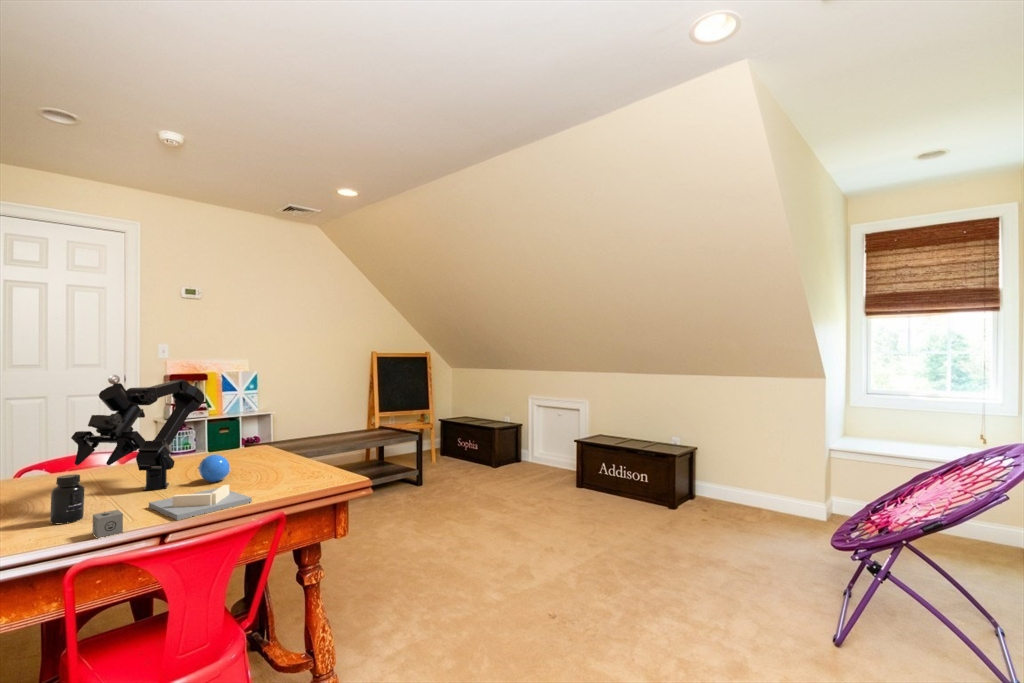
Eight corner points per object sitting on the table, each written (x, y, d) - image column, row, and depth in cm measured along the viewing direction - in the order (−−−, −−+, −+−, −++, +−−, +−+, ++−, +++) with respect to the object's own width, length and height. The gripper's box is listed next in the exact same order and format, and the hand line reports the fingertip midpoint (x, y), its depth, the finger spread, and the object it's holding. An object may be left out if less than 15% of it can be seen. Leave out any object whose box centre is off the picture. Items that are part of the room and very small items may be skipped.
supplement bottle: (75, 523, 135) (76, 478, 135) (44, 526, 133) (45, 480, 133) (89, 515, 141) (89, 472, 142) (59, 517, 139) (60, 474, 140)
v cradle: (148, 507, 148) (148, 492, 148) (220, 492, 164) (220, 478, 165) (177, 520, 137) (177, 503, 137) (251, 502, 153) (251, 487, 153)
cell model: (235, 476, 186) (235, 450, 186) (225, 484, 174) (225, 456, 175) (204, 478, 183) (204, 451, 184) (193, 486, 172) (193, 458, 172)
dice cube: (92, 534, 127) (92, 514, 127) (117, 529, 130) (117, 509, 131) (97, 539, 123) (97, 518, 123) (122, 533, 127) (122, 513, 127)
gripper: (77, 404, 151) (41, 448, 139) (138, 404, 150) (107, 448, 139) (99, 426, 158) (66, 470, 147) (157, 426, 158) (129, 470, 147)
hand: (91, 464), depth 145 cm, fingers open, 9 cm apart
